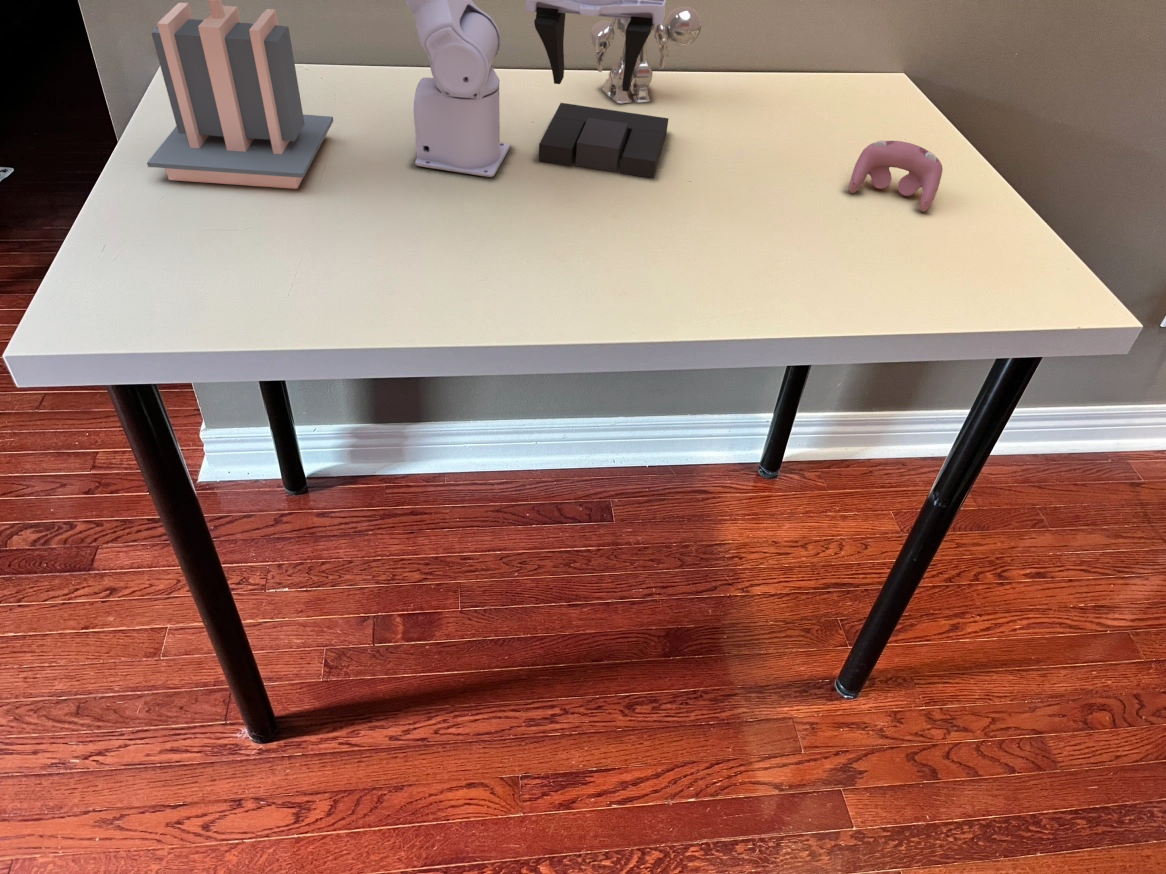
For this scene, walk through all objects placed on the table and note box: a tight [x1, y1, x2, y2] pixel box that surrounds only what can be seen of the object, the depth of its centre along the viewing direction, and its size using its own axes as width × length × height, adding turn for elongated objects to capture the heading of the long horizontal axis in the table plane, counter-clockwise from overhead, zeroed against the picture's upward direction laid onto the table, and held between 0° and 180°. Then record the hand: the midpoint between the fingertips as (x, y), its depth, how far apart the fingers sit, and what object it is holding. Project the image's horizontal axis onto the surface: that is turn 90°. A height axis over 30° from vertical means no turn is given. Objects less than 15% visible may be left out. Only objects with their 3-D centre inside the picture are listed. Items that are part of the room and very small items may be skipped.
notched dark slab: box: [538, 102, 669, 179], centre depth 109 cm, size 14×12×2 cm
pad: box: [575, 118, 628, 173], centre depth 107 cm, size 5×7×3 cm
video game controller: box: [848, 140, 943, 213], centre depth 104 cm, size 10×5×7 cm, turn 65°
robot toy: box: [590, 5, 702, 105], centre depth 116 cm, size 15×6×15 cm, turn 105°
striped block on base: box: [146, 0, 334, 190], centre depth 90 cm, size 18×14×33 cm
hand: (592, 84), depth 98 cm, fingers open, 7 cm apart
